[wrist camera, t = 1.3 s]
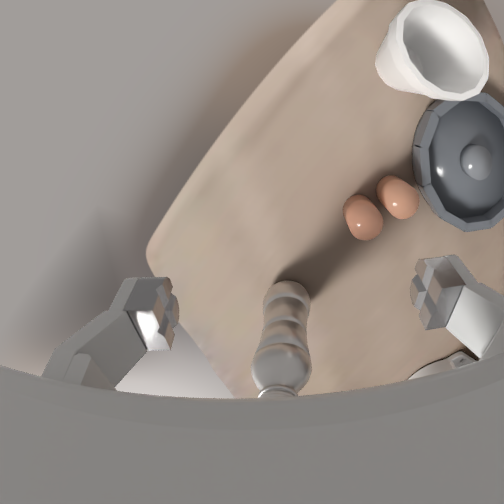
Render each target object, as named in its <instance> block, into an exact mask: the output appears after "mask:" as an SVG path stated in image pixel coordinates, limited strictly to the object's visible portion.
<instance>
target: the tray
mask: <svg viewBox="0 0 504 504" xmlns="http://www.w3.org/2000/svg"><path fill="white" fill-rule="evenodd" d="M412 164H413V171H414V175H415V179H416V182H417V185H418V188H419V190H420V192H421V194H422V196H423V198H424V199H425V200H426V202H427V203H428V205H429V206H430V207H431V209H432V211H433V212H434V213H435V214H436V215H437V216H438V217H439V218H441V219H442V220H444V221H446V222H448V223H450V224H452V225H453V226H455V227H457V228H459V229H461V230H462V231H464V232H470V231H476V230H483V229H489V228H491V227H493V226H495V225H496V224H497V223H498V222H499V221H500V220H501V219H502V218H504V107H503V106H502V105H501V104H500V103H499V102H497V101H496V100H495V99H494V98H493V97H491V96H490V95H489V94H488V93H482V92H480V93H479V94H477V95H475V96H473V97H470V98H468V99H466V100H464V101H447V100H440V99H437V100H435V101H434V102H433V103H432V104H431V105H430V106H429V107H428V108H427V109H426V111H425V112H424V113H423V115H422V117H421V118H420V120H419V123H418V125H417V128H416V131H415V134H414V139H413V145H412Z"/></svg>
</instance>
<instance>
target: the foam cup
mask: <svg viewBox="0 0 504 504" xmlns="http://www.w3.org/2000/svg"><path fill="white" fill-rule="evenodd" d="M375 66H376V69H377V72H378V75H379V76H380V77H381V78H382V80H383V81H384V82H385V83H386V84H387V85H389V86H390V87H392V88H394V89H396V90H400V91H406V92H412V93H417V94H423V95H427V96H428V97H430V98H433V99H440V100H447V101H464V100H466V99H468V98H470V97H473V96H475V95H477V94H479V93H480V91H481V90H482V88H483V86H484V85H485V83H486V81H487V80H488V73H489V57H488V53H487V50H486V47H485V45H484V42H483V39H482V36H481V35H480V34H479V32H478V31H477V30H476V28H475V27H474V26H473V24H472V23H471V22H470V20H469V19H468V18H467V17H466V16H465V15H463V14H462V13H461V12H459V11H458V10H456V9H455V8H453V7H452V6H450V5H449V4H447V3H444V2H440V1H436V0H417V1H414V2H410V3H408V4H407V5H406V6H405V7H403V8H402V9H401V10H400V11H399V13H398V14H397V15H396V17H395V18H394V19H393V20H392V22H391V23H390V24H389V31H388V33H387V35H386V37H385V39H384V40H383V42H382V44H381V46H380V48H379V50H378V52H377V54H376V61H375Z"/></svg>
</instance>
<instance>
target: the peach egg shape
mask: <svg viewBox="0 0 504 504" xmlns="http://www.w3.org/2000/svg"><path fill="white" fill-rule="evenodd" d="M343 215H344V217H345V219H346V222H347V224H348V226H349V229H350V231H351V233H352V234H353V235H354V236H355V237H356V238H358V239H360V240H370V239H373V238H375V237H376V236H377V235H378V234H379V233H380V232H381V230H382V227H383V217H382V215H381V213H380V212H379V211H378V209H377V208H376V207H375V206H374V204H373V203H372V202H371V201H370V200H369V199H368V198H367V197H366V196H363V195H354V196H351V197H350V198H348V199H347V200H346V202H345V204H344V206H343Z"/></svg>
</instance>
